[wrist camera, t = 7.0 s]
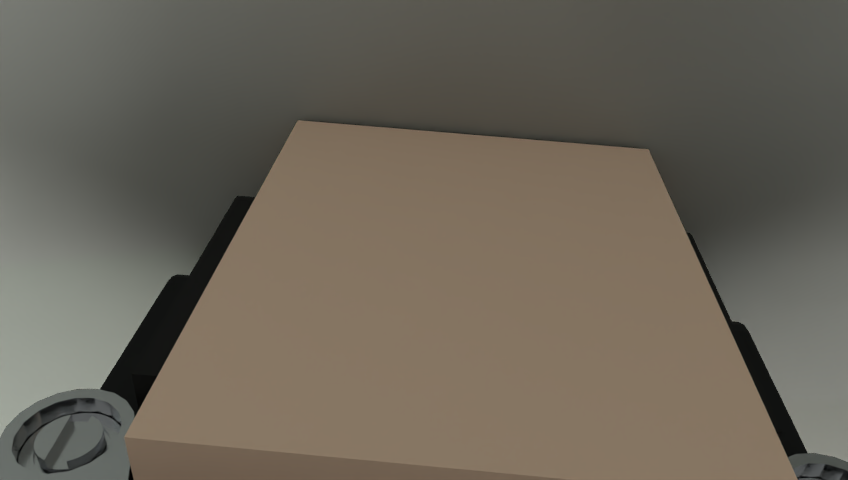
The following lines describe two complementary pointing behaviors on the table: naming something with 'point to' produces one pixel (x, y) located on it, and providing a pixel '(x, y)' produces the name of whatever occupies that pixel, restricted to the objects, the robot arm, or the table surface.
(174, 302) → the robot arm
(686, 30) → the table surface
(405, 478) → the beige boxy piece
